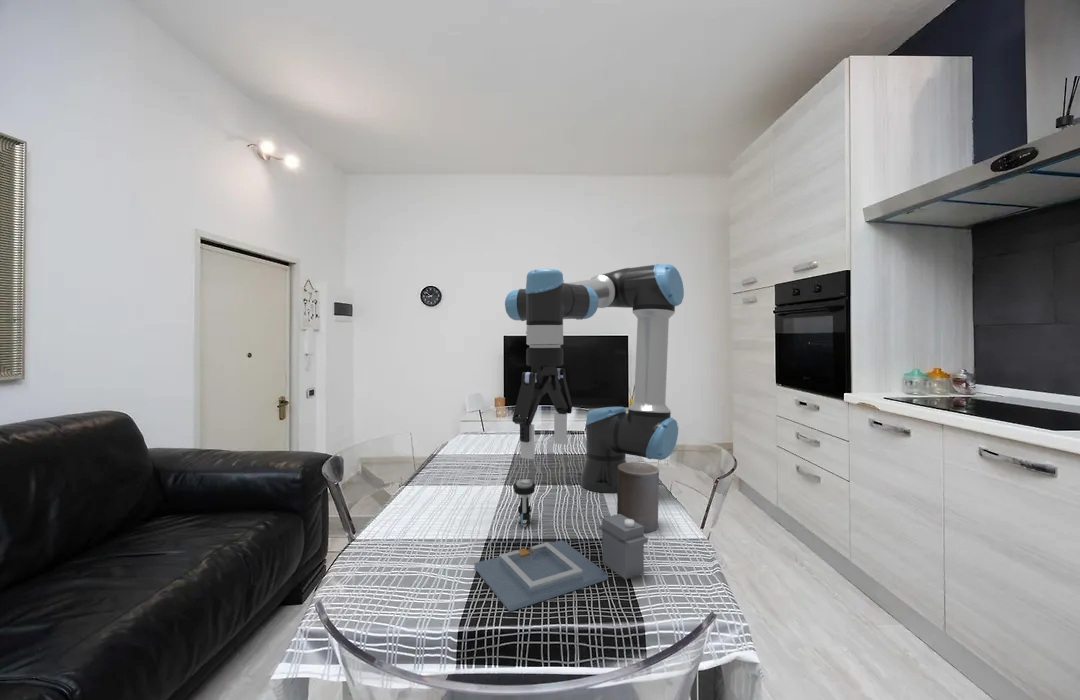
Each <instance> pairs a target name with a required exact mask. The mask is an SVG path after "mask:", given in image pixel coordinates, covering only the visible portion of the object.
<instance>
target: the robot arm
mask: <svg viewBox="0 0 1080 700" xmlns="http://www.w3.org/2000/svg"><path fill="white" fill-rule="evenodd" d="M525 281H526V282H525V288H518V289H514V290H511V291H509V293H508V294H507V295H506V297H505V300H504V308H505V313H506V314H507V316H508V317H509V318H510V319H512V320H513V321H522V322H525V321H526V322H525V324H526V330H525V335H526V343H525V344H526V345H527V346H529V347H527V348H526V351H525V352H526V353H525V354H526V355H525V360H526V361H525V362H526V366H528V367H531V372H529V371H527V372H526V371H524V372H522V373H521V380H520V381H521V384H520V387H519V392H518V395H517V399H516V404H515V405H514V406H515V407H514V411H513V415H512V419H511V420H512V423H514V424H515V425H519V440H520V441H519V442H520V444H519V445H520V447H519V448H520V456H519V457H520V458H521V459H528V460H534V459H535V424H532V423H533V420H534V418H535V415H536V412H537V410H538V407H539V404H540V403H541V400H542V397H544V396H545V395H546V394H548V396H549V398H550V400H551V403H552V405H553V407H554V409H555V411H556V412H555V413H554V417H553V418H554V419H553V420H554V421H553V422H554V423H553V424H554V426H553V427H554V430H553V433H554V434H553V435H554V437H553V439H554V441H553V443H554V444H559V445H567V444H568V414H572V412H573V410H572V408H573V403H572V400H571V399H572V398H571V394H570V389H569V386H568V383H567V377H566V369H565V368H563V367H562V368H559V367H561V366H563V365H564V349H563V347H561V346H563V345H564V320H578V321H579V320H587V319H590V318H592V317H593V316H595V314H596V312H597V311H598V309H605V308H626V309H627V308H632V314H634V316H635V317H636V318H637V322H636V323H637V326H636V327H637V328H636V346H635V350H636V352H635V373H634V394H633V395H634V397H633V402H632V404H631V405H630V406H629V407H628V409H627V410H628V411H627V410H626V407H624V406H606V407H599V408H594V409H590V410H588V412H587V414H586V419H585V426H586V427H585V430H586V431H585V433H586V435H585V440H586V443H585V445H586V446H585V447H586V450H585V451H586V455H585V456H586V459H585V462H584V465H583V469H582V473H581V475H580V485H581V487H583V488H584V489H586V490H589V491H593V492H597V493H604V494H605V493H608V494H609V493H617V478H618V465H620V464H622V463H627V458H626V455H630V456H636V457H640V458H646V459H648V460H659V461H661V460H666V459H667V458H668V457H670V456H671V454H672V453H673V451H674V449H675V447H676V444H677V441H678V436H679V426H678V422H677V420H676V419H675V418H673V417H671V415H672V413H671V411H672V410H671V409H670V408H669V407H668V406H667V404H666V398H667V393H666V392H667V371H668V369H667V368H668V348H669V347H668V344H669V324H670V323H669V322H670V318H671V317H672V316H674V315H675V312H676V311H675V310H676V307H678V306H680V305H681V304H682V303H683V299H684V294H685V293H684V292H685V290H684V288H685V287H684V284H683V278H682V275H681V274H680V272H679V270H678V269H677V268H676V267H675V266H674V265H673V264H669V263H668V264H667V263H663V264H658V263H656V264H650V265H643V266H636V267H626V268H625V267H624V268H620V269H617V270H613V271H610V272H606V273H602V274H597V275H593V276H592V277H591V278H590V279H586V280H579V281H572V282H566V283H565V282H564V281H565V280H564V274H563V272H562V271H560V269H555V268H541V269H540V268H539V269H532V270H529V272H527V274H526V280H525Z"/></svg>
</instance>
